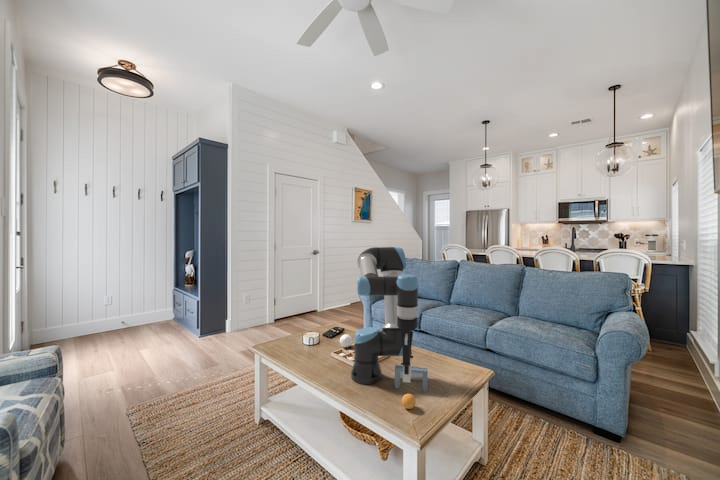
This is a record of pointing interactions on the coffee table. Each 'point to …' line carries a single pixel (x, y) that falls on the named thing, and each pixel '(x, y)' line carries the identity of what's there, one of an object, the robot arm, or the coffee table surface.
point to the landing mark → (413, 376)
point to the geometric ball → (346, 340)
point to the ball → (408, 401)
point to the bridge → (413, 369)
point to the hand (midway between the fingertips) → (407, 378)
